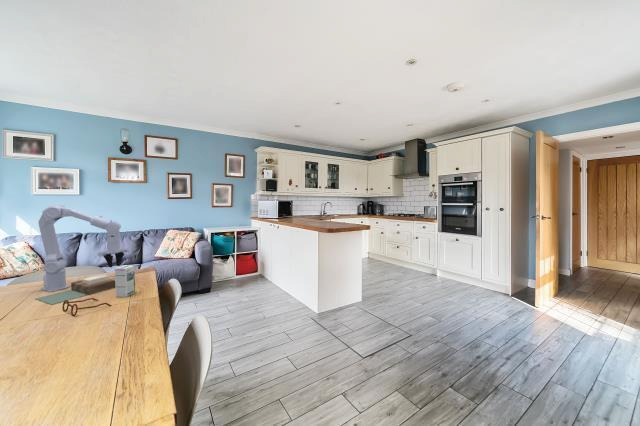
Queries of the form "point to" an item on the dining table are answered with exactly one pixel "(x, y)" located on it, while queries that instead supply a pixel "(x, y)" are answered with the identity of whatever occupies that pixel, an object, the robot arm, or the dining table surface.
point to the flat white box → (95, 279)
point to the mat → (60, 297)
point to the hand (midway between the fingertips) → (114, 266)
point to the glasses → (77, 306)
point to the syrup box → (125, 281)
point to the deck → (92, 286)
